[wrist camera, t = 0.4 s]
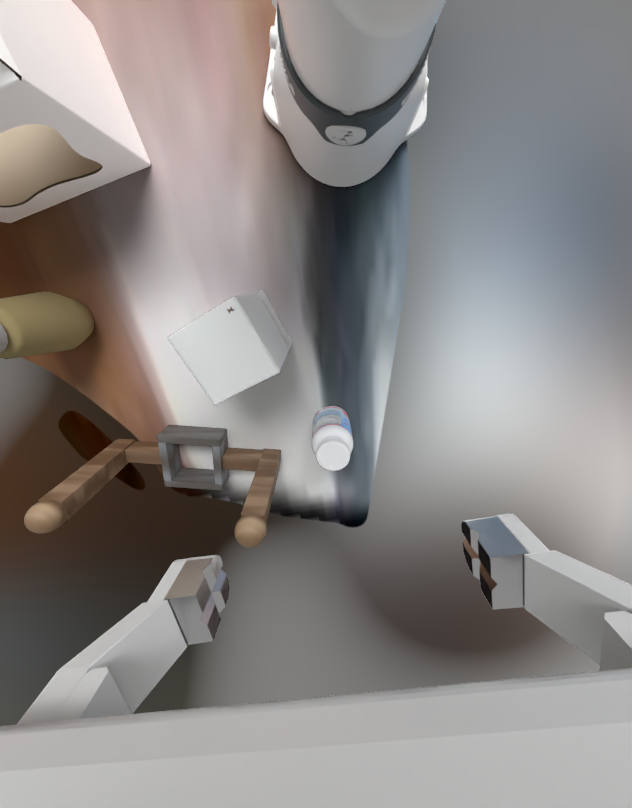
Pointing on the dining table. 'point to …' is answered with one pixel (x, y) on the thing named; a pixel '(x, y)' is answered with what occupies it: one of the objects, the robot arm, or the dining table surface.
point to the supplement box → (233, 345)
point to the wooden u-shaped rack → (168, 477)
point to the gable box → (58, 109)
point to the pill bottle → (332, 438)
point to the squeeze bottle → (42, 324)
